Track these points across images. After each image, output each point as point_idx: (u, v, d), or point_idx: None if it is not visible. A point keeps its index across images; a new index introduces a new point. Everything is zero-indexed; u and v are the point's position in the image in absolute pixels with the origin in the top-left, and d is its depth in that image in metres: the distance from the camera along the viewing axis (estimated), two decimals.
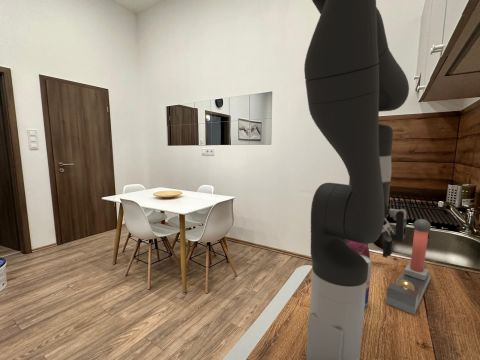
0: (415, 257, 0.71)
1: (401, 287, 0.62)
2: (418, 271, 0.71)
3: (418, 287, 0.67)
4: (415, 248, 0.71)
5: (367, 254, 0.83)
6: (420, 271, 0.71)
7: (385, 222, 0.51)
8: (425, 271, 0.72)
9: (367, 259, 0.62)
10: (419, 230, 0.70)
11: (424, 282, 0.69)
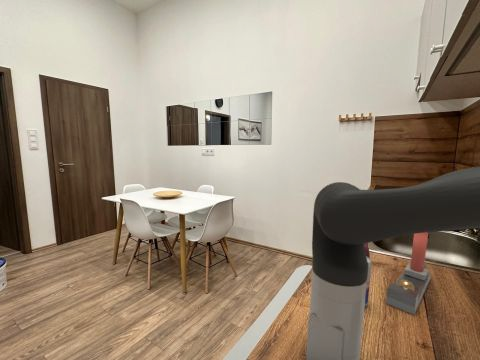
0: (415, 257, 0.71)
1: (401, 287, 0.62)
2: (418, 271, 0.71)
3: (418, 287, 0.67)
4: (415, 248, 0.71)
5: (367, 254, 0.83)
6: (420, 271, 0.71)
7: None
8: (425, 271, 0.72)
9: (367, 259, 0.62)
10: None
11: (424, 282, 0.69)
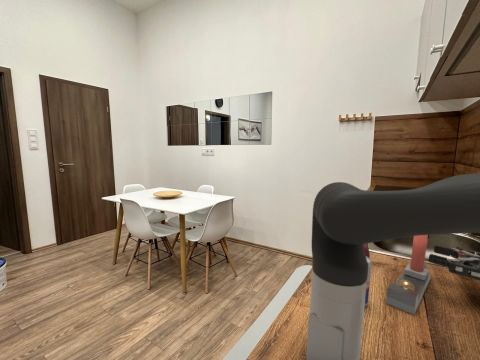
0: (415, 257, 0.71)
1: (401, 287, 0.62)
2: (418, 271, 0.71)
3: (418, 287, 0.67)
4: (415, 248, 0.71)
5: (367, 254, 0.83)
6: (420, 271, 0.71)
7: (462, 269, 0.63)
8: (425, 271, 0.72)
9: (367, 259, 0.62)
10: None
11: (424, 282, 0.69)
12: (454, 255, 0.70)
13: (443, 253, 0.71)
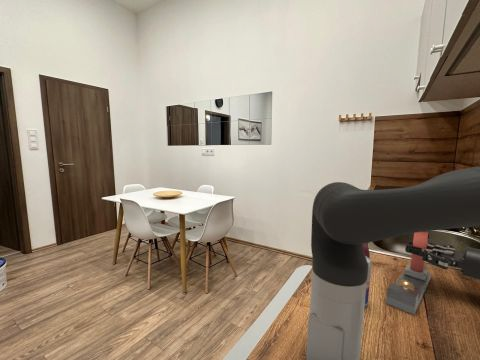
0: (415, 257, 0.71)
1: (401, 287, 0.62)
2: (418, 271, 0.71)
3: (418, 287, 0.67)
4: None
5: (367, 254, 0.83)
6: (420, 271, 0.71)
7: None
8: (425, 271, 0.72)
9: (367, 259, 0.61)
10: None
11: (424, 282, 0.69)
12: None
13: None
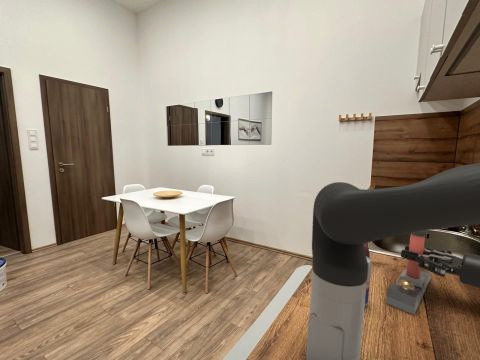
0: (411, 263, 0.68)
1: (401, 287, 0.62)
2: (414, 278, 0.68)
3: (418, 287, 0.67)
4: None
5: (367, 254, 0.83)
6: (416, 278, 0.68)
7: None
8: (422, 277, 0.68)
9: (367, 259, 0.61)
10: (415, 235, 0.67)
11: (424, 282, 0.69)
12: None
13: None
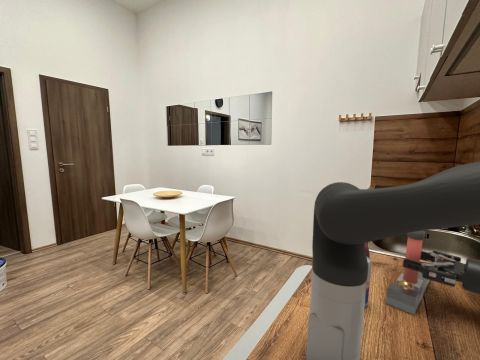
0: None
1: (401, 287, 0.62)
2: (412, 282, 0.65)
3: None
4: (408, 257, 0.66)
5: (367, 254, 0.83)
6: (414, 282, 0.65)
7: None
8: (419, 282, 0.66)
9: (367, 259, 0.62)
10: (412, 238, 0.64)
11: (424, 282, 0.69)
12: (431, 259, 0.67)
13: None
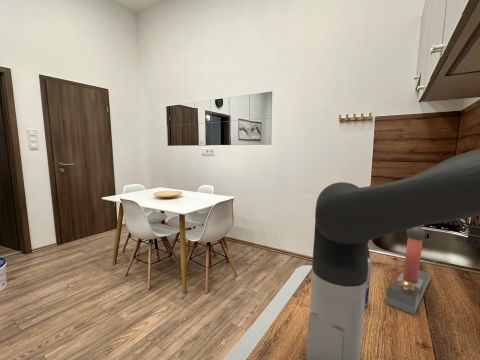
0: (408, 267, 0.66)
1: (401, 287, 0.62)
2: (412, 282, 0.65)
3: None
4: (408, 257, 0.66)
5: (367, 254, 0.83)
6: (414, 282, 0.65)
7: None
8: (419, 282, 0.66)
9: None
10: (412, 238, 0.64)
11: (424, 282, 0.69)
12: None
13: None
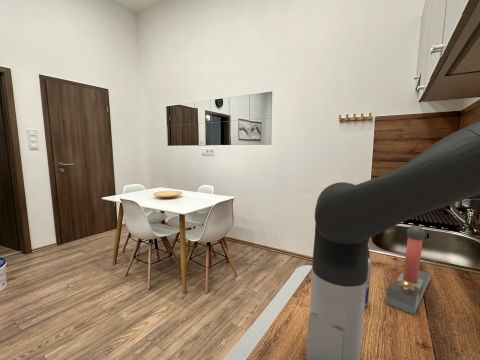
0: (408, 267, 0.66)
1: (401, 287, 0.62)
2: (412, 282, 0.65)
3: None
4: (408, 257, 0.66)
5: None
6: (414, 282, 0.65)
7: None
8: (419, 282, 0.66)
9: None
10: (412, 238, 0.64)
11: (424, 282, 0.69)
12: None
13: None
